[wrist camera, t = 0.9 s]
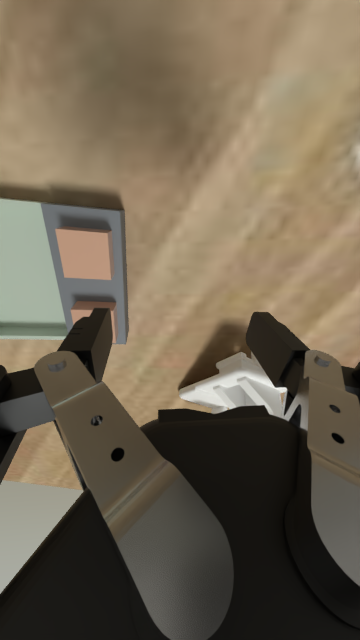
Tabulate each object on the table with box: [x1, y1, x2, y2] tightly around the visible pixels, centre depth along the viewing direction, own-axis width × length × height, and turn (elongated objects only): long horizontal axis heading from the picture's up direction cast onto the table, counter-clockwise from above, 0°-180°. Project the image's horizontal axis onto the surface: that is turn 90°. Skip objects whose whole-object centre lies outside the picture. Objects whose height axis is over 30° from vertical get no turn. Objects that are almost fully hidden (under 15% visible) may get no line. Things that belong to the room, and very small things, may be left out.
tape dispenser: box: [179, 351, 287, 417], centre depth 37 cm, size 20×11×13 cm, turn 148°
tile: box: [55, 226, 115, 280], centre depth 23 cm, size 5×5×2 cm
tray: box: [0, 198, 68, 340], centre depth 27 cm, size 18×11×3 cm, turn 174°
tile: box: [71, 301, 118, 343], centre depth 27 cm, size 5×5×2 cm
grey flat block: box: [40, 203, 129, 344], centre depth 28 cm, size 18×8×4 cm, turn 174°
